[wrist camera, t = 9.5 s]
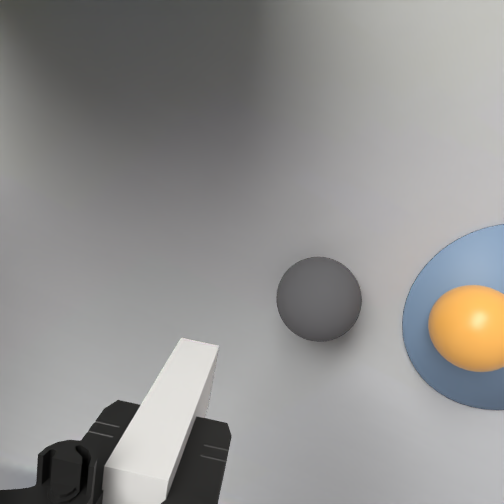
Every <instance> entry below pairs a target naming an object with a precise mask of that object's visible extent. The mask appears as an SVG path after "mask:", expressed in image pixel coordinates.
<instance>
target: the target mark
mask: <svg viewBox="0 0 504 504" xmlns="http://www.w3.org/2000/svg"><path fill="white" fill-rule="evenodd" d="M465 285H481V286H485V287H490V288H492V289H495V290H497V291H499V292H501V293H503V294H504V224H502V225H496V226H491V227H487V228H483V229H480V230H478V231H475V232H472V233H470V234H467V235H465V236H463V237H461V238H459V239H457V240H456V241H454V242H453V243H451V244H449V245H448V246H446V247H445V248H444V249H443V250H441V251H440V252H439V253H438V254H436V255H435V256H434V257H433V258H432V259H431V260H430V261H429V262H428V263H427V264H426V266H425V267H424V268H423V270H422V271H421V272H420V273H419V275H418V276H417V278H416V280H415V282H414V283H413V285H412V287H411V289H410V292H409V294H408V297H407V299H406V303H405V307H404V312H403V321H402V326H403V338H404V343H405V347H406V350H407V353H408V356H409V358H410V359H411V361H412V363H413V365H414V367H415V368H416V370H417V371H418V373H419V374H420V375H421V377H422V378H423V379H424V380H425V381H426V382H427V383H428V384H429V385H430V386H431V387H433V388H434V389H435V390H436V391H438V392H439V393H441V394H442V395H444V396H446V397H447V398H449V399H452V400H454V401H456V402H458V403H461V404H464V405H468V406H471V407H476V408H481V409H491V410H504V367H503V368H500V369H498V370H494V371H489V372H474V371H468V370H465V369H462V368H459V367H457V366H455V365H453V364H452V363H450V362H449V361H447V360H446V359H445V358H444V357H443V356H442V355H441V354H440V353H439V352H438V351H437V349H436V348H435V347H434V345H433V343H432V341H431V338H430V335H429V330H428V319H429V314H430V311H431V309H432V307H433V305H434V304H435V302H436V301H437V300H438V299H439V298H440V297H441V296H442V295H443V294H445V293H446V292H448V291H450V290H451V289H454V288H457V287H460V286H465Z"/></svg>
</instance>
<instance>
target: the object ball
mask: <svg viewBox="0 0 504 504" xmlns="http://www.w3.org/2000/svg"><path fill="white" fill-rule="evenodd" d="M428 330H429V335H430V338H431V341H432V343H433V345H434V347H435V348H436V349H437V351H438V352H439V353H440V354H441V355H442V356H443V357H444V358H445V359H446V360H447V361H449V362H450V363H452V364H453V365H455V366H457V367H459V368H462V369H465V370H468V371H474V372H489V371H494V370H498V369H500V368H503V367H504V294H503V293H501V292H499V291H497V290H495V289H492V288H490V287H485V286H481V285H465V286H460V287H457V288H454V289H451V290H450V291H448V292H446V293H445V294H443V295H442V296H441V297H440V298H439V299H438V300H437V301H436V302H435V304H434V305H433V307H432V309H431V311H430V314H429V319H428Z"/></svg>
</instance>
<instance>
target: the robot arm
mask: <svg viewBox="0 0 504 504" xmlns="http://www.w3.org/2000/svg"><path fill="white" fill-rule="evenodd" d="M218 349H219V346H218V345H213V344H208V343H204V342H199V341H194V340H190V339H185V338H181V339H180V340H179V342H178V344H177V345H176V347H175V349H174V350H173V352H172V354H171V355H170V357H169V359H168V360H167V362H166V364H165V365H164V367H163V369H162V370H161V372H160V374H159V375H158V377H157V379H156V380H155V382H154V384H153V385H152V387H151V389H150V390H149V392H148V394H147V395H146V397H145V399H144V400H143V402H142V404H141V405H138V404H134V403H129V402H125V401H120V400H117V401H116V402H114V403H113V404H111V405H109V406H108V407H106V408H105V409H104V410H103V411H102V413H101V414H100V415H99V417H98V418H97V420H96V422H95V423H94V424H93V425H92V426H91V428H90V429H89V431H88V433H86V435H85V436H84V437H83V439H82V440H81V441H76V440H67V441H61V442H57V443H55V444H53V445H50V446H48V447H46V448H45V449H44V450H43V451H42V452H40V453H39V454H38V464H37V482H36V485H35V486H33V487H30V488H23V489H13V490H0V504H218V500H219V495H220V490H221V485H222V481H223V476H224V471H225V466H226V461H227V456H228V451H229V446H230V441H231V433H230V430H229V427H228V424H227V423H224V422H219V421H215V420H211V419H206V418H205V415H206V412H207V409H208V406H209V400H210V394H211V389H212V383H213V377H214V372H215V366H216V361H217V355H218Z"/></svg>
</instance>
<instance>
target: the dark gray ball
mask: <svg viewBox="0 0 504 504" xmlns="http://www.w3.org/2000/svg"><path fill="white" fill-rule="evenodd" d="M361 302H362V298H361V291H360V287H359V284H358V282H357V280H356V278H355V277H354V275H353V274H352V273H351V271H350V270H349V269H348V268H346V267H345V266H344V265H343V264H341V263H339V262H337V261H335V260H333V259H330V258H325V257H312V258H307V259H304V260H301V261H299V262H297V263H296V264H294V265H293V266H292V267H291V268H289V269H288V270H287V272H286V273H285V274H284V276H283V277H282V279H281V281H280V283H279V286H278V289H277V307H278V311H279V314H280V316H281V318H282V320H283V322H284V323H285V324H286V326H287V327H288V328H289V329H290V330H291V331H292V332H294V333H295V334H297V335H298V336H300V337H302V338H304V339H307V340H311V341H329V340H333V339H335V338H338V337H340V336H341V335H343V334H345V333H346V332H347V331H348V330H349V329H350V328H351V327H352V326H353V325H354V323H355V322H356V320H357V318H358V316H359V313H360V309H361Z"/></svg>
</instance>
